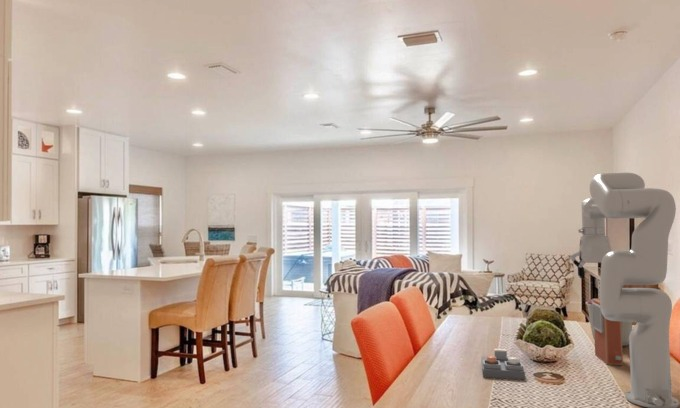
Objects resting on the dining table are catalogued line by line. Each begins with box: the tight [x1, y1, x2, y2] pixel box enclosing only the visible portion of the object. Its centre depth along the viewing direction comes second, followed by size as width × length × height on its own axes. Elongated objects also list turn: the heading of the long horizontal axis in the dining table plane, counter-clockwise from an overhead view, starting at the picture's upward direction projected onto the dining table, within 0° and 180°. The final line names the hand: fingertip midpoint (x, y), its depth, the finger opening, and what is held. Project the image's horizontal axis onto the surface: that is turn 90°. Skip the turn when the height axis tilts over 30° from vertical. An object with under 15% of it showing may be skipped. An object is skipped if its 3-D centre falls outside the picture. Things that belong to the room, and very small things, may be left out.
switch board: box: [481, 354, 526, 381], centre depth 160 cm, size 15×13×4 cm
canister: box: [585, 297, 634, 347], centre depth 195 cm, size 18×18×21 cm
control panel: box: [592, 298, 624, 366], centre depth 172 cm, size 21×7×15 cm
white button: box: [508, 356, 520, 364], centre depth 156 cm, size 3×3×2 cm
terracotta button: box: [486, 355, 497, 363], centre depth 158 cm, size 3×3×2 cm
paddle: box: [493, 348, 508, 360], centre depth 166 cm, size 2×4×3 cm, turn 75°
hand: (595, 278), depth 175 cm, fingers open, 9 cm apart
